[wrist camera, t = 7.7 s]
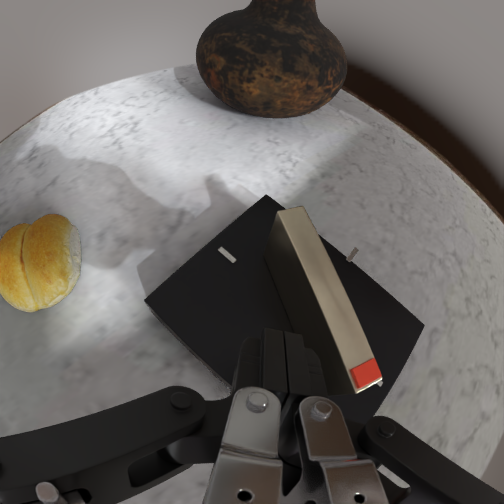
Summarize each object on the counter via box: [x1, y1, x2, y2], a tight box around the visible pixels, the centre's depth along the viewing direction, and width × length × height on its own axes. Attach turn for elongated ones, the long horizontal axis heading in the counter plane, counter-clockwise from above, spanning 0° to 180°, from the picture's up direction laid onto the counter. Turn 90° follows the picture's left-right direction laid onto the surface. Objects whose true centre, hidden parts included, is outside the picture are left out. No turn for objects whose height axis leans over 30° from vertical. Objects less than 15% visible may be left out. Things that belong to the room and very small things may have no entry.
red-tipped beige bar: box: [263, 206, 382, 396], centre depth 16 cm, size 10×2×5 cm, turn 19°
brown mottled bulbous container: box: [196, 0, 347, 118], centre depth 22 cm, size 18×18×28 cm
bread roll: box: [0, 214, 81, 312], centre depth 18 cm, size 8×9×4 cm
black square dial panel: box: [144, 195, 425, 424], centre depth 19 cm, size 16×14×3 cm
